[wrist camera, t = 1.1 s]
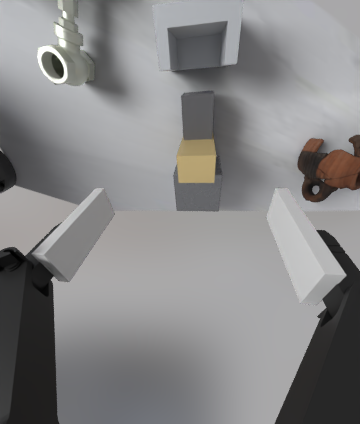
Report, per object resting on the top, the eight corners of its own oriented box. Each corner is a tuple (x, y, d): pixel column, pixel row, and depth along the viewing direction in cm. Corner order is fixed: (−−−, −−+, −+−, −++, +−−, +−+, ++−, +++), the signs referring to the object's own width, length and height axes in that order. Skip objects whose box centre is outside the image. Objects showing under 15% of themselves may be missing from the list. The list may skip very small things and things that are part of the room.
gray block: (181, 189, 36) (176, 210, 31) (178, 157, 32) (173, 175, 26) (216, 189, 35) (218, 211, 30) (219, 156, 31) (222, 175, 25)
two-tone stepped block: (187, 193, 35) (182, 228, 27) (182, 92, 24) (172, 102, 16) (209, 194, 34) (210, 229, 26) (214, 90, 23) (219, 99, 16)
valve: (104, 93, 27) (113, -26, 19) (81, 98, 22) (81, -61, 14) (61, 73, 26) (53, -61, 18) (26, 73, 21) (-5, -112, 13)
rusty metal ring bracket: (318, 116, 26) (390, 122, 20) (341, 134, 31) (405, 144, 24) (275, 188, 31) (322, 211, 25) (301, 194, 36) (346, 214, 29)
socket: (170, 71, 24) (159, 70, 18) (167, 24, 21) (152, 4, 15) (228, 65, 23) (236, 63, 17) (232, 16, 20) (244, -9, 14)
